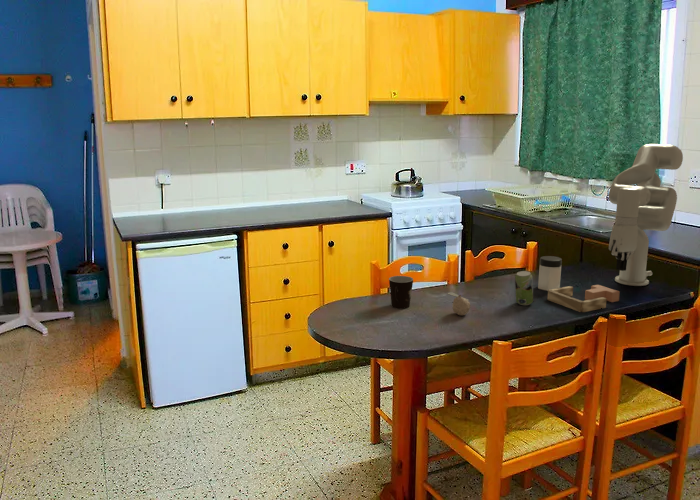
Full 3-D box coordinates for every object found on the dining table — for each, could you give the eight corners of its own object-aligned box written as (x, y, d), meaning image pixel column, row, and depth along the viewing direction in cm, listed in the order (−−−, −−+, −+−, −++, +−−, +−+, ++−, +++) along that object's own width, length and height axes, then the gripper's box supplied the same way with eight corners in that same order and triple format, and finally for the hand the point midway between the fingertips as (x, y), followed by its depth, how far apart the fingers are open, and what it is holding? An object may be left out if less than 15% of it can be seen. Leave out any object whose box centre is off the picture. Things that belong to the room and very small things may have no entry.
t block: (597, 293, 245) (598, 284, 244) (618, 300, 236) (619, 291, 235) (578, 297, 240) (578, 288, 239) (599, 304, 232) (600, 295, 231)
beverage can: (536, 303, 233) (538, 271, 230) (526, 308, 227) (528, 275, 225) (520, 300, 237) (522, 268, 234) (510, 304, 231) (512, 272, 229)
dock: (569, 294, 243) (569, 286, 242) (605, 307, 228) (606, 298, 227) (545, 299, 238) (546, 290, 237) (581, 312, 223) (582, 302, 222)
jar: (564, 288, 251) (567, 258, 248) (552, 292, 246) (555, 262, 243) (545, 283, 258) (547, 254, 255) (532, 287, 253) (534, 257, 250)
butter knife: (451, 291, 247) (445, 293, 245) (495, 308, 226) (489, 310, 225) (451, 292, 247) (445, 294, 245) (495, 310, 227) (489, 311, 225)
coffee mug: (399, 300, 236) (399, 274, 233) (417, 306, 230) (418, 279, 227) (377, 307, 228) (378, 280, 225) (396, 313, 222) (396, 285, 219)
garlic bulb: (447, 313, 221) (448, 291, 220) (460, 310, 225) (461, 288, 223) (461, 318, 216) (462, 296, 214) (474, 315, 220) (475, 292, 218)
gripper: (631, 218, 243) (626, 266, 247) (603, 221, 236) (598, 269, 240) (648, 221, 237) (643, 270, 240) (620, 224, 230) (615, 274, 233)
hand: (621, 269), depth 240 cm, fingers closed
